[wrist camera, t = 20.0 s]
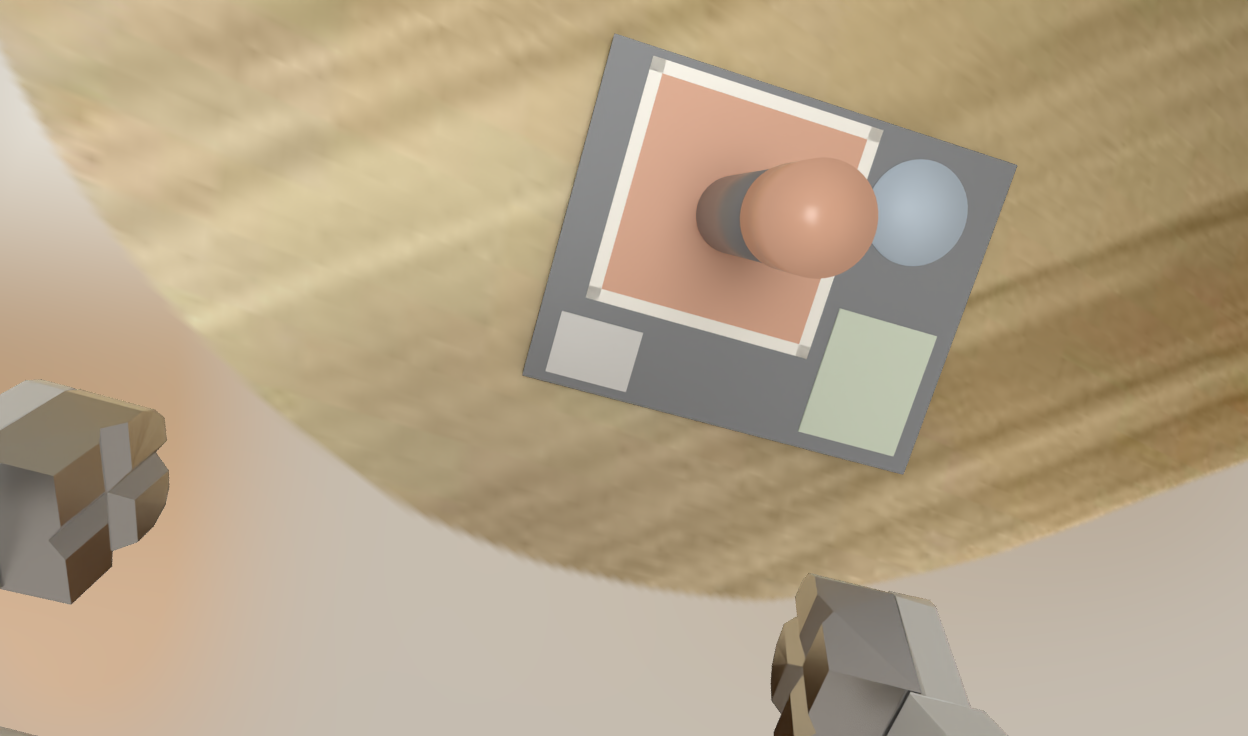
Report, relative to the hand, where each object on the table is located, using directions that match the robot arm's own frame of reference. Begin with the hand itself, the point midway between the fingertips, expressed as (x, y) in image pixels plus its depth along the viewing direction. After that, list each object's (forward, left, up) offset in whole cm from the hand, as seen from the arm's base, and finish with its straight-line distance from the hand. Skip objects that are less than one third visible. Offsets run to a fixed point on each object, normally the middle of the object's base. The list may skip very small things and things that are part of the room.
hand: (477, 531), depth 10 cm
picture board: (-10, -4, -29) cm, 31 cm away
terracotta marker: (-8, -6, -28) cm, 29 cm away
